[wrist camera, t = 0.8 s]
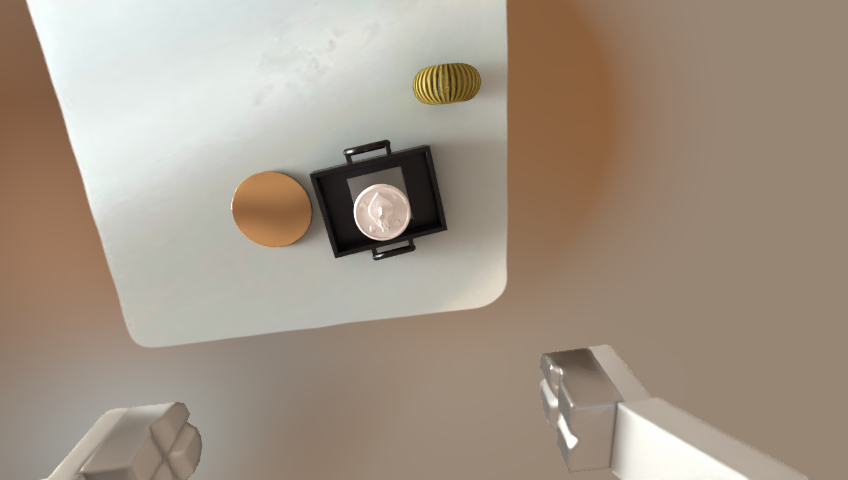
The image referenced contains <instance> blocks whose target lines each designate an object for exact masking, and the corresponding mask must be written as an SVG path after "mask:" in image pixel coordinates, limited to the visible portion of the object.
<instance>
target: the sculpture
mask: <svg viewBox="0 0 848 480" xmlns="http://www.w3.org/2000/svg"><path fill="white" fill-rule="evenodd" d="M461 75H462V76H461ZM438 77H439V85H440V86H439V87H440V92H441V93H440V94H441V96H439V93H438V87H437V86H438V83H437V82H438ZM466 77H467V78H466ZM442 80H443V83H444V90H443V84H442ZM467 80H468V81H467ZM454 82H455V84H454ZM449 83H450V85H449ZM474 83H475V84H474ZM433 85H434V86H433ZM480 85H481V79H480V75H479V73H478V72H477V70H476V69H475V68H474V67H472V66H471V65H468V64H463V63H451V64H441V65H435V66H431V67H427V68H424V69H423V70H421V71H420V72H419V73H418V74H417V75H416V76H415V79H414V82H413V90H414V94H415V96H416V97H417V99H418V100H419V101H421V102H423V103H425V104H429V105H433V104H446V103H456V102H463V101H467V100H470V99H472V98H473V97H474V96H475V95H476V94H477V93H478V91H479V89H480ZM432 88H434V91H435V96H436V97H435V96H434V93H433V89H432ZM450 89H451V90H450ZM454 91H455V92H454ZM455 93H456V94H455ZM454 94H455V95H454Z"/></svg>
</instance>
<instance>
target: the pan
mask: <svg viewBox="0 0 848 480" xmlns="http://www.w3.org/2000/svg"><path fill="white" fill-rule="evenodd" d="M381 148H385V149H386V153H387V154H384V155H380V156H376V157H371V158H367V159H363V160H359V161H355V162H352V159H351V156H352V155H356V154H361V153H365V152H369V151H373V150H377V149H381ZM343 153H344V155H345V157H346V160H347V163H346V164H342V165H338V166H334V167H330V168H325V169H321V170H317V171H313V172H312V173H311V174H309V175H310V178H311V182H312V185H313V188H314V191H315V194H316V198H317V201H318V204H319V207H320V211H321V214H322V217H323V220H324V223H325V227H326V230H327V233H328V236H329V240H330V243H331V246H332V249H333V252H334V256H335V258H338V257H342V256H346V255H350V254H354V253H358V252H362V251H366V250H370V249H371V250H372V253H373V259H374V260H380V259H384V258H388V257H392V256H396V255H400V254H404V253H408V252H412V251H414V250H415V249H416V247H415V245H414V243H413V238H417V237H421V236H425V235H429V234H433V233H437V232H441V231H445V230H447V226H446V220H445V216H444V211H443V206H442V202H441V197H440V192H439V188H438V183H437V178H436V174H435V169H434V164H433V160H432V155H431V151H430V146H429V145H422V146H417V147H413V148H409V149H405V150H401V151H396V152H392V153H391V149H390V141H389V140H383V141H378V142H374V143H370V144H366V145H362V146H357V147H353V148H349V149H345V150H344V152H343ZM398 166H401V168H402V172H403V177H404V181H405V185H406V189H407V193H408V198H409V202H410V206H411V210H412V214H413V218H414V219H410V220H409V223H408V225H407V227H406V228H405V230H404V231H403V232H402V233H401V234H400V235H398V236H397V237H395V238H393V239H389V240H375V239H372V238H370V237H368V236H366V235H365V234H364V233H363V232H362V231H361V230H360V229H359V228H358V226H357V224H356V221H355V217H354V204H353V201H352V197H351V194H350V190H349V187H348V183H347V180H346V179H348V178H352V177H356V176H361V175H365V174H369V173H373V172H377V171H381V170H385V169H390V168H394V167H398ZM405 240H408V242H409V245H408V246H404V247H400V248H396V249H392V250H388V251H384V252H380V253H377V250H376V248H378V247H382V246H386V245H390V244H393V243H397V242H401V241H405Z"/></svg>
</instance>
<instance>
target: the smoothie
mask: <svg viewBox="0 0 848 480" xmlns="http://www.w3.org/2000/svg"><path fill="white" fill-rule="evenodd" d="M354 217H355V221H356V224H357V226H358V228H359V229H360V230H361V231H362V232H363V233H364V234H365V235H366V236H368V237H370V238H372V239H375V240H389V239H393V238H395V237H397V236H398V235H400V234H401V233H402V232H403V231H404V230H405V228H406V227H407V225H408V223H409V220H410V205H409V202H408V200H407V198H406V196H405V195H404V194H403V193H402V192H401V191H400V190H399V189H398V188H396V187H393V186H391V185H386V184H377V185H373V186H371V187H368V188H367V189H365V190H364V191H363V192H362V193H361V194H360V195H359V196H358V198H357V200H356V203H355V207H354Z"/></svg>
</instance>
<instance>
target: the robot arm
mask: <svg viewBox="0 0 848 480" xmlns="http://www.w3.org/2000/svg"><path fill="white" fill-rule="evenodd" d="M540 368H541V370H542V373H543V375H544V377H545V378H544V379H543V380H542V381H541V383H540V392H541V400H542V406H543V410H544V413H545V416H546V419H547V421H548V424H549V426H550V427H551V428H553V429H554V430H556V431H557V445H558V447H559V450H560V452H561V455H562V457H563V459H564V462H565V464H566V466H567V468H568V471H569V473H570V472H579V471H588V470H589V471H590V470H599V469H609V468H611V472H613V473H614V474H615V475H616V476H617V477H619V478H620V479H621V480H809V479H808V478H807V477H806V476H805V475H804V474H803V473H801V472H800V471H797V470H796V469H794V468H792V467H790V466H788V465H786V464H784V463H782V462H781V461H779V460H777V459H775V458H773V457H771V456H769V455H767V454H765V453H763V452H762V451H760V450H758V449H756V448H754V447H752V446H750V445H748V444H747V443H745V442H743V441H741V440H739V439H737V438H735V437H733V436H731V435H730V434H728V433H726V432H724V431H722V430H720V429H718V428H716V427H714V426H712V425H711V424H709V423H707V422H705V421H703V420H701V419H699V418H697V417H695V416H693V415H691V414H690V413H688V412H686V411H684V410H682V409H680V408H679V407H677V406H675V405H673V404H671V403H669V402H667V401H665V400H663V399H661V398H652V397H651V396H650V395H649V393H648V392H647V391H646V389H645V388H644V387H643V386H642V384H640V382H639V380H638V379H637V378H636V377H635V375H634V374H633V373H632V372H631V370H630V369H629V368H628V366H627V365H626V364H625V362H624V361H623V360H622V359H621V357H620V356H619V355H618V353H617V352H616V351H615V350H614V348H613V347H612V346H610V345H608V344H606V345H599V346H593V347H586V348H581V349H574V350H566V351H559V352H552V353H545V354H542V355H541V359H540ZM189 415H190V413H189V411H188V409H187V408H186V406H185V404H184V403H180V402H172V403H163V404H153V405H145V406H136V407H131V408H121V409H112V410H110V411H108V412H106V413H104V414H103V415H102V416H101V417H100V418H99V420H98V421H97V422H96V423H95V424H94V425H93V426H92V428H91V429H90V430H89V431H88V432H87V434H86V435H85V436H84V437H83V438H82V439H81V440H80V442H79V443H78V444H77V445H76V446H75V447H74V449H73V450H72V451H71V452H70V453H69V454H68V455H67V457H66V458H65V459H64V460H63V461H62V462H61V464H60V465H59V466H58V467H57V468H56V469H55V471H54V472H53V473H52V474H51V475H50V476H49V478H46V479H40V480H187V479H188V478H189V477H190V476H191V475H192V474H193V473H194V472H195V469H196V467H197V465H198V463H199V461H200V456H201V450H202V441H201V436H200V433H199V431H198V429H197V428H196V427H194V426H193V425H191V424H189V423H188V422H187V420H188V418H189Z"/></svg>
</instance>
